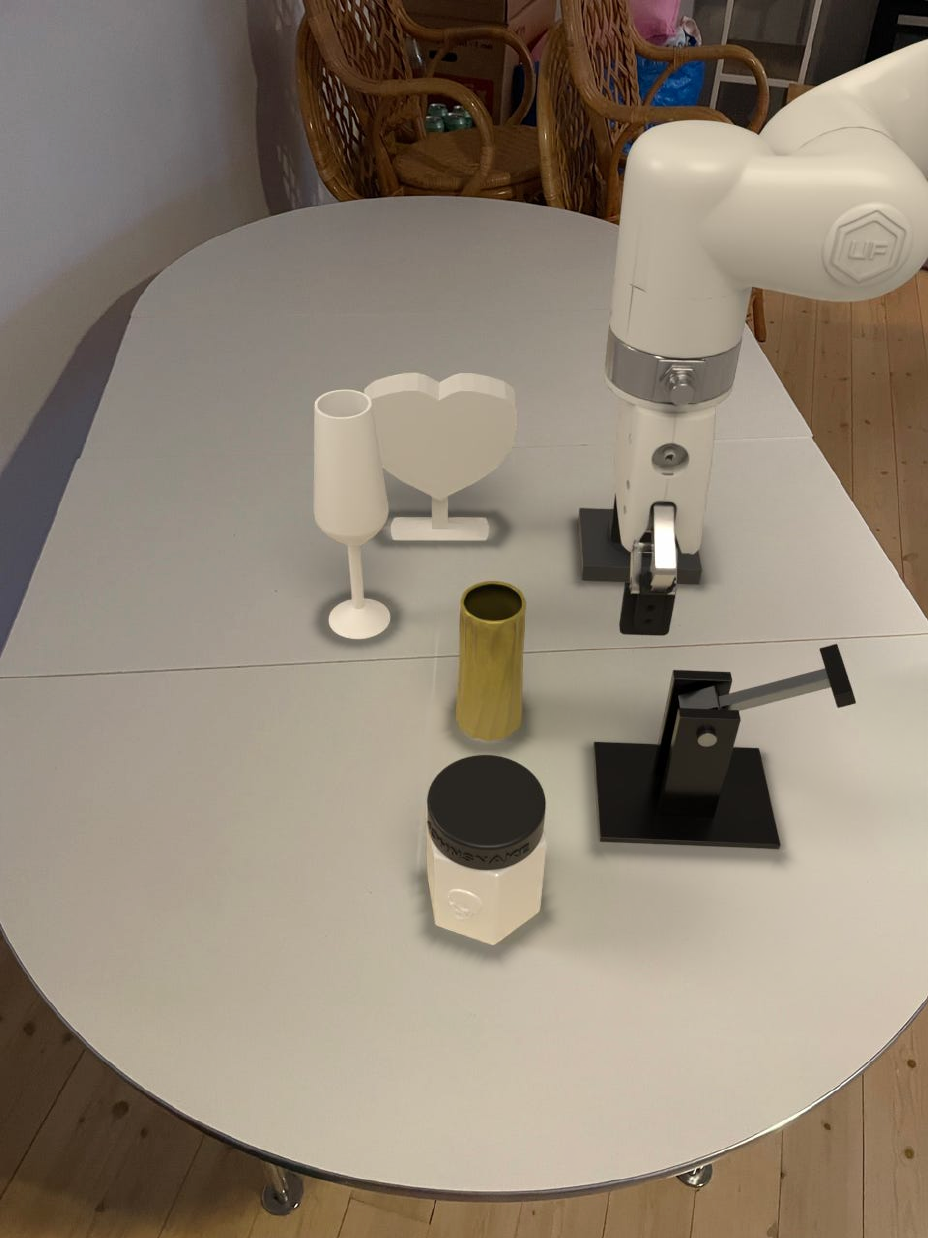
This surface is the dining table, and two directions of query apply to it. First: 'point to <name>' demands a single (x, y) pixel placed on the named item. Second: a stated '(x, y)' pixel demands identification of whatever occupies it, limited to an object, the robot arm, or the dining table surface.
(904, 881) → the dining table surface
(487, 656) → the vase
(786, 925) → the dining table surface
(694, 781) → the bracket
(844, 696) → the lever
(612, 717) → the dining table surface
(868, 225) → the robot arm
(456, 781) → the jar
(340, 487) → the champagne flute
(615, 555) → the switch block
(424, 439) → the heart sculpture
